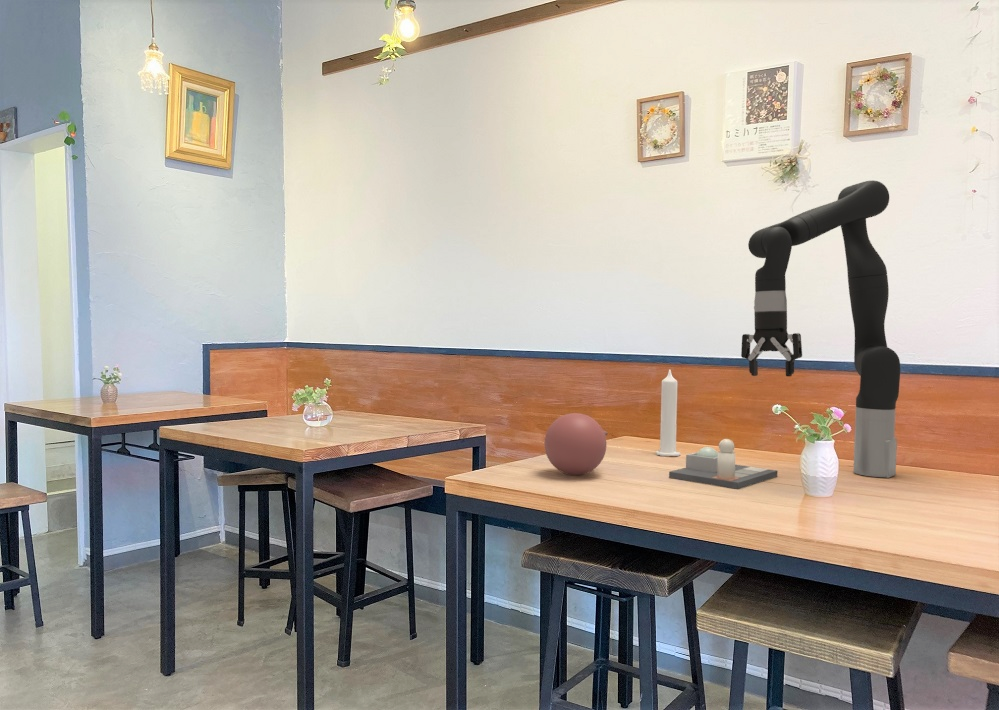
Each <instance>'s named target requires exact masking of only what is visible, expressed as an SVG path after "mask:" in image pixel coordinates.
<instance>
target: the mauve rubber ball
mask: <svg viewBox="0 0 999 710" xmlns="http://www.w3.org/2000/svg"><path fill="white" fill-rule="evenodd" d="M608 433H609V432H608V431H607V430H604V429H603V428H602V426H601V425H600V424H599V423H598V421H597V420H595V419H594V418H592V417H591V416H589V415H587V414H585V413H580V412H572V413H571V412H570V413H566V414H563V415H561V416H559V417H558V418H556V419H555V420H554V421H553V422H552V423H551V424H550V425H549V426H548V428H547V431H546V432H545V437H544V441H543V442H544V443H543V445H544V451H545V454H546V457H547V460H549V462H550V463H551V465H552V466H553V467H554V468H555V469H556V470H558V471H560V472H562V473H563V474H566V475H570V476H580V475H586V474H588V473H591V472H592V471H594V470H595V469H597V468H598V466H599V465H600V464H601V462H602V461H603V460H604V458H605V455H606V453H607V451H606V450H607V437H606V436H607V435H608Z"/></svg>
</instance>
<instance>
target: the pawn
mask: <svg viewBox="0 0 999 710" xmlns="http://www.w3.org/2000/svg"><path fill="white" fill-rule="evenodd" d="M718 449H719V451H717V453H718V467H717V477H718V478H721V479H735V465H736V452H734V451H735V443H734V441H733V440H732V439H729V438H724V439H722V440H720V442H719V444H718Z"/></svg>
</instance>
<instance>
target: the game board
mask: <svg viewBox="0 0 999 710" xmlns="http://www.w3.org/2000/svg"><path fill="white" fill-rule="evenodd" d="M697 453H698V451H696V452H692V453H687V454H685V467H682V468H678V469H674V470H670V471H669V473H668V479H675V480H681V481H686V482H693V483H697V484H698V483H700V484H704V485H712V486H717V487H723V488H729V489H734V490H739V489H743V488H746V487H749V486H752V485H755V484H759V483H762V482H765V481H768V480H770V479H773V478H777V477H778V470H776V469H769V468H761V467H755V466H747V465H741V464H735V479H721V478H718V477H717V467H718V457H715V458H710V457H703V456H697Z"/></svg>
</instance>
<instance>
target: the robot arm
mask: <svg viewBox="0 0 999 710" xmlns="http://www.w3.org/2000/svg"><path fill="white" fill-rule="evenodd" d="M889 203H890V192H889V189H888V188H887V186H886V185H885V184H884V183H883V182H881V181H878V180H865V181H862V182H859V183H855V184H852V185H850V186H846V187H845V188H843V189H841V191H840V192H839V194H838V196H837V199H836V200H835V201H832V202H828V203H826V204H823V205H819V206H817V207H813V208H811V209H809V210H807V211H803V212H801V213H798V214H797V215H795V216H792V217H789V218H787V219H786V220H784V221H782V222H779V223H775V224H773V225H769V226H766V227H764V228H761V229H758V230H757V231H755V232H753V234H752V235H751V236H750V238H749V240H748V250H749V252H750V253H751V255H752V256H754V257H755V258H758V259H765V260H764V263H763V265H762V267H759V268H758V269H757V270H755V274H754V275H755V276H754V279H755V280H754V283H755V284H754V290H755V291H754V292H755V293H754V301H753V302H754V304H753V305H754V306H753V309H754V313H753V314H754V333H753V334H750V333H743V334H742V336H741V352H740V353H741V355H740V357H741V358H742V359H746V360H748V362H749V363H748V367H749V368H748V371H749V374H751V376H752V377H758V374H759V369H758V367H759V365H758V362H759V361H758V360H757V359H758V358H759V356H760V355H761V354H762V353H763V352H779V353H780V354H781V355H782V356H783V357H784V358H785V376H786V377H792V375H794V372H795V361H796V360H797V359H800V358H802V357H803V349H802V348H803V347H802V334H801V333H800V332H797V333H795V332H794V333H791V334H789V333H788V302H787V301H788V300H787V293H786V292H787V291H786V288H787V285H786V282H787V281H786V273H787V269H788V266H789V261H790V257H791V253H792V250H793V249H792V247H795V246H799V245H802V244H805V243H806V242H809V241H812V240H813V239H816V238H818V237H820V236H822V235H824V234H826V233H828V232H830V231H831V230H834V229H836V228H839V227H840V229H841V234H842V238H843V245H844V251H845V260H846V269H847V283H848V292H849V293H848V294H849V300H850V308H851V309H850V310H851V315H852V322H853V327H854V328H853V329H854V352H853V354H854V357H853V359H854V360H853V361H854V362H853V365H854V368H855V371H856V372H857V374H858V375H859V376H860V381H859V390H858V393H857V396H856V397H855V413H854V414H855V415H854V416H855V418H854V420H855V421H854V444H853V445H854V447H853V448H854V449H853V473H854V474H856V475H860V476H866V477H874V478H875V477H876V478H888V479H890V478H892V477H893V476H896V475H897V474H896V472H897V447H898V439H897V437H895V434H896V433H895V432H896V430H895V429H896V408H897V407H896V406H897V405H896V404H897V401H898V398H899V393H900V382H901V362H900V361H901V360H900V358H899V356H898V354H897V352H896V351H894V350H893V348H889V346H888V343H887V338H886V332H885V322H886V321H885V320H886V314H887V309H888V304H889V293H890V292H889V277H888V270H887V266H886V264H885V262H884V260H883V259H882V257H881V256H880V254H879V253H878V251H877V250H876V248H874V246H873V244H872V242H871V240H870V238H869V235H868V227H867V219H869V218H872V217H877V216H878V215H880V214H882V213H883V212H884V211H886V209H887V207H888V206H889ZM788 340H789V341H790V343H792V352H791V349H790V348H789V347H788V346H787V342H788ZM753 341H754V342H755V343H756V345H755V346H754V347H753V349H752V351H751V343H753Z"/></svg>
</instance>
